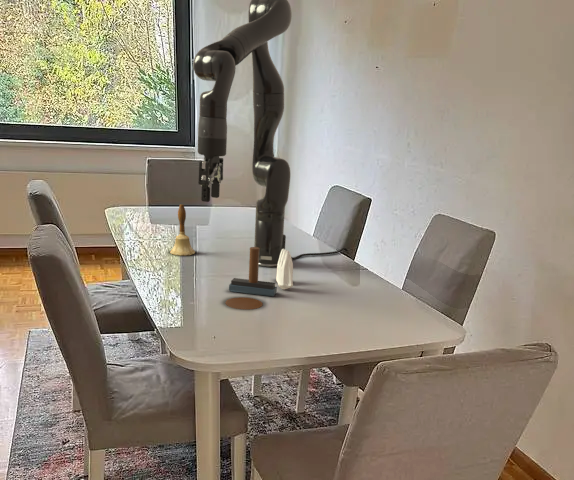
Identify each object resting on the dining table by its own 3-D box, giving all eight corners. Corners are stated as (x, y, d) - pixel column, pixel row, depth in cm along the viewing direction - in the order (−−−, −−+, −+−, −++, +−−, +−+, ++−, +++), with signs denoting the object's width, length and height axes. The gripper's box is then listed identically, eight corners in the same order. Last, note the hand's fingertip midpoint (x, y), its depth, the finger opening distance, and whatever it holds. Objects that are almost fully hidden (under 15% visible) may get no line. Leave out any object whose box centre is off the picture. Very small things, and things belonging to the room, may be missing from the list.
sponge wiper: (232, 288, 181) (233, 244, 176) (276, 293, 179) (279, 249, 174) (228, 291, 178) (230, 247, 172) (273, 297, 176) (276, 252, 171)
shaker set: (292, 292, 181) (295, 254, 177) (278, 291, 181) (280, 253, 176) (289, 280, 192) (291, 244, 187) (275, 279, 192) (277, 243, 187)
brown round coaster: (250, 296, 176) (250, 295, 176) (269, 307, 169) (269, 306, 169) (218, 300, 171) (218, 300, 171) (237, 312, 163) (237, 311, 163)
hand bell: (166, 254, 210) (165, 205, 203) (174, 248, 218) (174, 201, 211) (190, 256, 209) (190, 207, 202) (198, 251, 217) (198, 203, 210)
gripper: (218, 138, 158) (216, 204, 165) (233, 136, 171) (230, 197, 178) (189, 135, 159) (188, 201, 166) (206, 133, 172) (205, 194, 179)
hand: (210, 199), depth 172 cm, fingers open, 8 cm apart
